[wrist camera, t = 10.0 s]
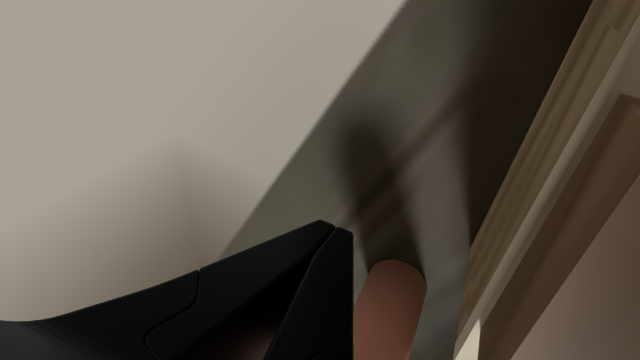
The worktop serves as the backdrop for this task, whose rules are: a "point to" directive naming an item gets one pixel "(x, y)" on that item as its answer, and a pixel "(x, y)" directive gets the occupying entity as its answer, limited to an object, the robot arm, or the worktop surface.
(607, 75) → the lid
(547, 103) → the wooden box
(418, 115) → the worktop surface
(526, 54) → the worktop surface
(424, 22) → the worktop surface
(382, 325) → the key peg
